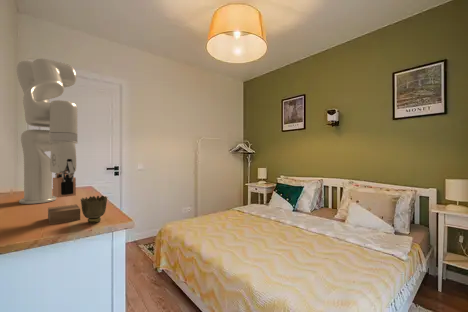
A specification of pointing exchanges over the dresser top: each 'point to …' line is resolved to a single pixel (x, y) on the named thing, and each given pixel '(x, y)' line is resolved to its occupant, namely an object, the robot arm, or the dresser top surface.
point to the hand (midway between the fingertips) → (64, 192)
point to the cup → (93, 208)
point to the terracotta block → (57, 187)
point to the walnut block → (63, 214)
